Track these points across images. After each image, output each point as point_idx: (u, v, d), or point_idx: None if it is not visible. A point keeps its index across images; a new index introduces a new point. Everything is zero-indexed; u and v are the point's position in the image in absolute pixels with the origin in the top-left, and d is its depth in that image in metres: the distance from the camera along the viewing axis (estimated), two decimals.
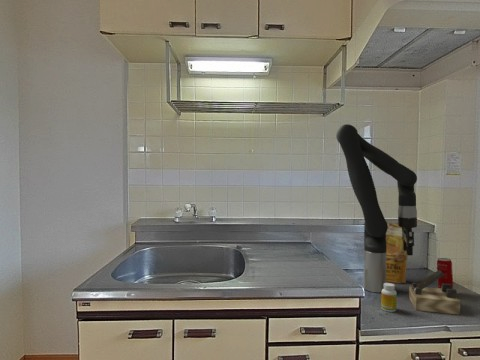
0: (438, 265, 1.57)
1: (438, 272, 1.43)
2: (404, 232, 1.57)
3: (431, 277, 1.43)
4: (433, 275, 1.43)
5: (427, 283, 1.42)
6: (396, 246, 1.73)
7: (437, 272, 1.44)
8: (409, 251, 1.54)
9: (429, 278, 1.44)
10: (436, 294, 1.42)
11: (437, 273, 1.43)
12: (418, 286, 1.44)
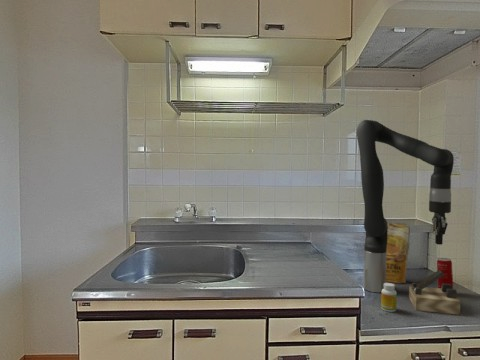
0: (438, 265, 1.57)
1: (438, 272, 1.43)
2: (436, 219, 1.41)
3: (431, 277, 1.43)
4: (433, 275, 1.43)
5: (427, 283, 1.42)
6: (396, 246, 1.73)
7: (437, 272, 1.44)
8: (439, 240, 1.41)
9: (429, 278, 1.44)
10: (436, 294, 1.42)
11: (437, 273, 1.43)
12: (418, 286, 1.44)
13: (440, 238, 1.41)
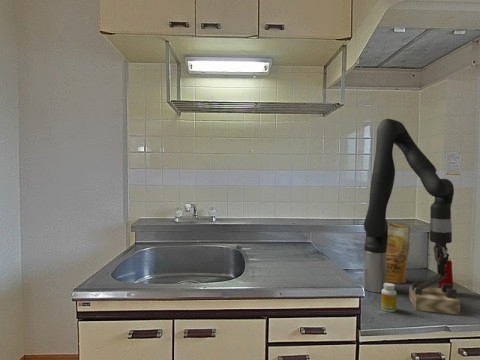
0: None
1: (440, 275, 1.43)
2: (437, 249, 1.41)
3: (433, 279, 1.43)
4: (435, 277, 1.43)
5: (428, 284, 1.42)
6: (396, 246, 1.73)
7: (439, 274, 1.44)
8: (441, 270, 1.42)
9: (431, 279, 1.44)
10: (436, 294, 1.42)
11: (439, 275, 1.43)
12: (419, 286, 1.44)
13: (442, 268, 1.41)
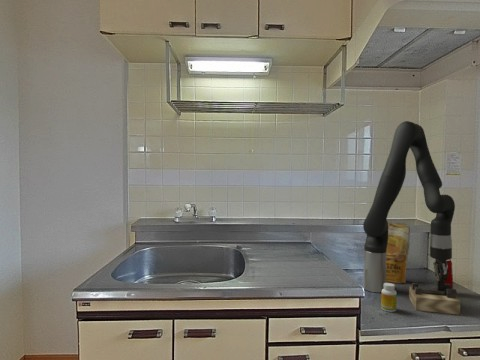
0: None
1: None
2: (437, 265, 1.41)
3: None
4: None
5: (431, 291, 1.42)
6: (396, 246, 1.73)
7: (446, 289, 1.43)
8: (441, 286, 1.41)
9: (435, 289, 1.43)
10: (436, 294, 1.42)
11: (446, 289, 1.42)
12: (421, 288, 1.44)
13: (442, 284, 1.41)
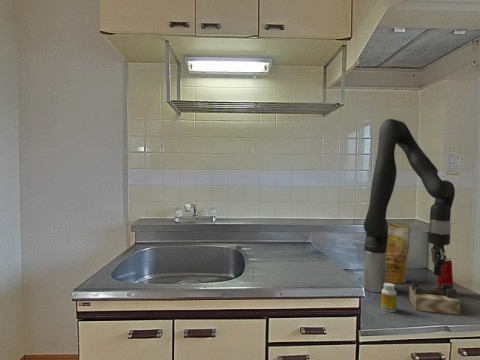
0: None
1: None
2: (435, 250, 1.41)
3: (438, 289, 1.43)
4: (441, 289, 1.43)
5: (431, 291, 1.42)
6: (396, 246, 1.73)
7: (446, 289, 1.43)
8: (437, 271, 1.42)
9: (435, 289, 1.43)
10: (436, 294, 1.42)
11: None
12: (421, 288, 1.44)
13: (438, 269, 1.42)
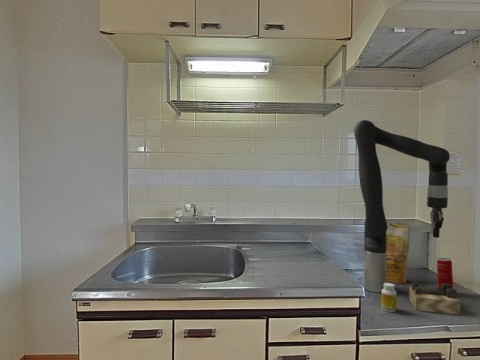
0: (438, 265, 1.57)
1: None
2: (433, 214, 1.51)
3: (438, 289, 1.43)
4: (441, 289, 1.43)
5: (431, 291, 1.42)
6: (396, 246, 1.73)
7: (446, 289, 1.43)
8: (436, 233, 1.52)
9: (435, 289, 1.43)
10: (436, 294, 1.42)
11: None
12: (421, 288, 1.44)
13: (437, 231, 1.51)
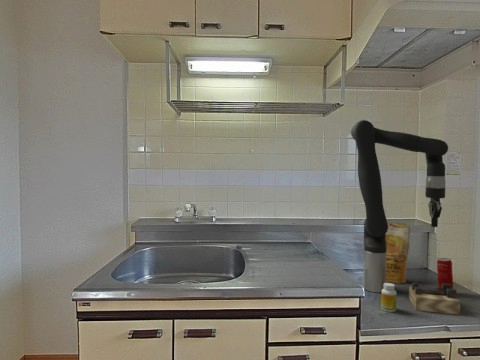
0: (438, 265, 1.57)
1: None
2: (432, 204, 1.56)
3: (438, 289, 1.43)
4: (441, 289, 1.43)
5: (431, 291, 1.42)
6: (396, 246, 1.73)
7: (446, 289, 1.43)
8: (434, 223, 1.56)
9: (435, 289, 1.43)
10: (436, 294, 1.42)
11: None
12: (421, 288, 1.44)
13: (435, 221, 1.56)
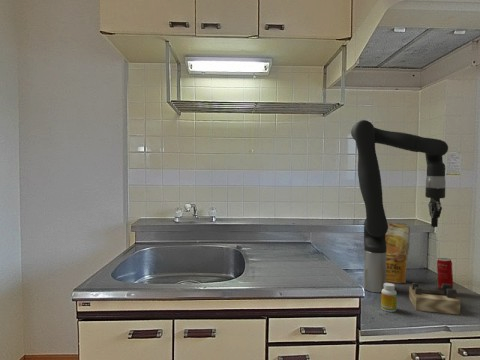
0: (438, 265, 1.57)
1: None
2: (432, 204, 1.56)
3: (438, 289, 1.43)
4: (441, 289, 1.43)
5: (431, 291, 1.42)
6: (396, 246, 1.73)
7: (446, 289, 1.43)
8: (434, 223, 1.56)
9: (435, 289, 1.43)
10: (436, 294, 1.42)
11: None
12: (421, 288, 1.44)
13: (435, 221, 1.56)
